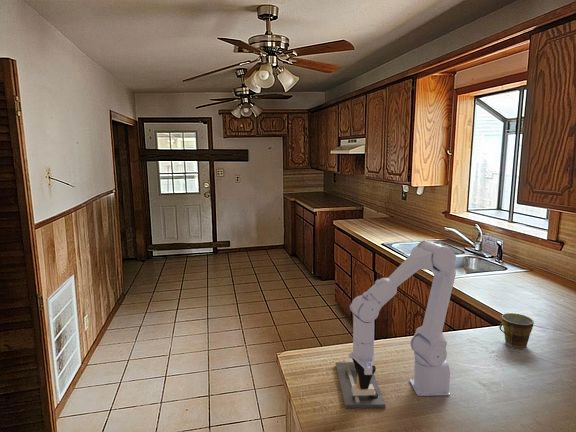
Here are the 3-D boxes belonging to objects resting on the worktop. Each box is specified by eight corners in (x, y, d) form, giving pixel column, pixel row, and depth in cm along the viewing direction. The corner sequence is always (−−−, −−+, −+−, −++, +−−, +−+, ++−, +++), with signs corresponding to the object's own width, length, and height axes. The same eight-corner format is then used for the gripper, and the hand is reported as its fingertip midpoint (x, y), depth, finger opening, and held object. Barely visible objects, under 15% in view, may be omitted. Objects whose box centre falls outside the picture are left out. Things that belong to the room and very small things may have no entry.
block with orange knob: (374, 390, 111) (374, 370, 110) (376, 397, 108) (377, 376, 107) (351, 390, 111) (351, 370, 110) (353, 397, 108) (353, 377, 107)
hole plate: (368, 365, 128) (368, 353, 127) (385, 408, 106) (385, 394, 105) (335, 365, 128) (335, 354, 127) (345, 408, 106) (345, 394, 105)
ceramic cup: (514, 336, 146) (516, 311, 145) (538, 348, 137) (540, 322, 135) (487, 342, 142) (488, 316, 141) (510, 355, 133) (512, 327, 131)
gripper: (345, 328, 114) (344, 370, 116) (353, 352, 100) (353, 400, 102) (369, 327, 114) (368, 370, 116) (380, 352, 100) (379, 400, 102)
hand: (362, 384), depth 109 cm, fingers closed on block with orange knob, 3 cm apart
